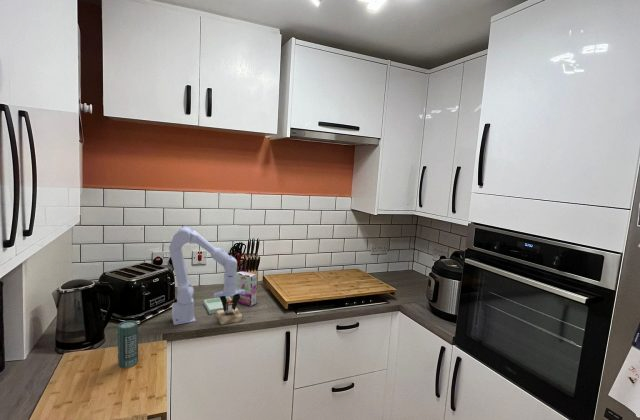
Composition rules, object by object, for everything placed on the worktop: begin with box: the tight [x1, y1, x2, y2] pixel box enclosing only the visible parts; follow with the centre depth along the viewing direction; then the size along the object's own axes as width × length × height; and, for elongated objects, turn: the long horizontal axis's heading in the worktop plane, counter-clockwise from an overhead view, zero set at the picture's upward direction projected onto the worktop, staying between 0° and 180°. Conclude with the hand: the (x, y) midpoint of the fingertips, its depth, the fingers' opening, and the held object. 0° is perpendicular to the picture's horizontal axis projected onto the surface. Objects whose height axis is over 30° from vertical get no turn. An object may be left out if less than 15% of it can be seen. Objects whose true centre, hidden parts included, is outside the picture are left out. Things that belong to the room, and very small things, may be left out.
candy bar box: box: [236, 270, 258, 307], centre depth 184 cm, size 11×5×16 cm, turn 62°
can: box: [117, 320, 139, 369], centre depth 124 cm, size 6×6×15 cm
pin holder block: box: [215, 307, 243, 325], centre depth 165 cm, size 10×10×2 cm
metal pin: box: [226, 299, 234, 316], centre depth 165 cm, size 4×4×8 cm
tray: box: [203, 296, 233, 315], centre depth 177 cm, size 13×13×2 cm
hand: (229, 310), depth 165 cm, fingers closed on metal pin, 4 cm apart
